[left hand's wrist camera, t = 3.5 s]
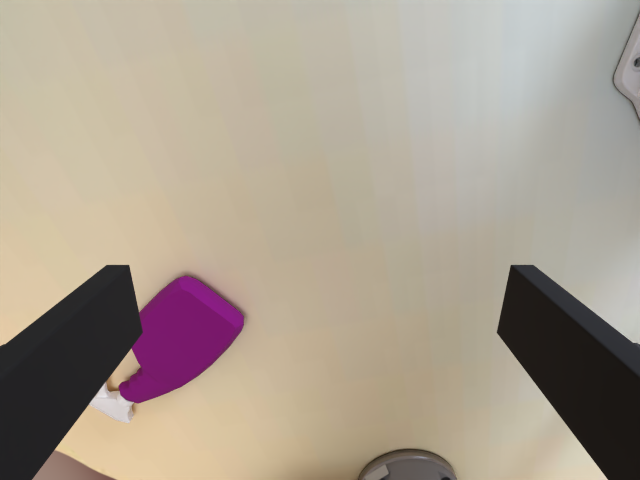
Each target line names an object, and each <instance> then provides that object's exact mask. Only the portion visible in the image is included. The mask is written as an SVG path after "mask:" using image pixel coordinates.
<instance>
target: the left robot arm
mask: <svg viewBox="0 0 640 480" xmlns="http://www.w3.org/2000/svg"><path fill="white" fill-rule="evenodd" d="M142 333H143V330H142V325H141V320H140V315H139V310H138V306H137V301H136V296H135V291H134V286H133V282H132V277H131V272H130V267H129V265H106V266H105V267H104V268H102V269H101V270H100V271H99V272H97V273H96V274H95V275H93V276H92V277H91V278H90V279H88V280H87V281H86V282H84V283H83V284H82V285H81V286H79V287H78V288H77V289H76V290H74V291H73V292H72V293H70V294H69V295H68V296H67V297H65V298H64V299H63V300H61V301H60V302H59V303H58V304H56V305H55V306H54V307H52V308H51V309H50V310H49V311H47V312H46V313H45V314H44V315H42V316H41V317H40V318H38V319H37V320H36V321H35V322H33V323H32V324H31V325H29V326H28V327H27V328H26V329H24V330H23V331H22V332H20V333H19V334H18V335H17V336H15V337H14V338H13V339H12V340H10V341H9V342H8V343H6V344H4V345H2V346H0V480H32V479H33V478H34V476H35V475H36V473H37V472H38V471H39V470H40V468H41V467H42V466H43V464H44V463H45V462H46V460H47V459H48V458H49V456H50V455H51V454H52V452H53V451H54V450H55V448H56V447H57V446H58V444H59V443H60V442H61V440H62V439H63V438H64V436H65V435H66V434H67V433H68V431H69V430H70V429H71V427H72V426H73V425H74V423H75V422H76V421H77V419H78V418H79V417H80V415H81V414H82V413H83V411H84V410H85V409H86V407H87V406H88V405H89V403H90V402H91V401H92V399H93V398H94V397H95V395H96V394H97V393H98V392H99V390H100V389H101V388H102V386H103V385H104V384H105V382H106V381H107V380H108V378H109V377H110V376H111V374H112V373H113V372H114V370H115V369H116V368H117V366H118V365H119V364H120V362H121V361H122V360H123V358H124V357H125V356H126V354H127V353H128V352H129V350H130V349H131V348H132V347H133V345H134V344H135V343H136V341H137V340H138V339H139V337H140V336H141V335H142ZM497 333H498V335H499V336H500V337H501V339H502V340H503V341H504V343H505V344H506V345H507V347H508V348H509V349H510V350H511V352H512V353H513V354H514V356H515V357H516V358H517V360H518V361H519V362H520V364H521V365H522V366H523V368H524V369H525V370H526V372H527V373H528V374H529V376H530V377H531V378H532V380H533V381H534V382H535V384H536V385H537V386H538V388H539V389H540V390H541V392H542V393H543V394H544V395H545V397H546V398H547V399H548V401H549V402H550V403H551V405H552V406H553V407H554V409H555V410H556V411H557V413H558V414H559V415H560V417H561V418H562V419H563V421H564V422H565V423H566V425H567V426H568V427H569V429H570V430H571V431H572V433H573V434H574V435H575V436H576V438H577V439H578V440H579V442H580V443H581V444H582V446H583V447H584V448H585V450H586V451H587V452H588V454H589V455H590V456H591V458H592V459H593V460H594V462H595V463H596V464H597V466H598V467H599V468H600V470H601V471H602V472H603V474H604V475H605V476H606V478H607V479H608V480H640V345H639V344H637V343H632V342H631V341H630V340H628V339H627V338H626V337H625V336H623V335H622V334H621V333H620V332H618V331H617V330H616V329H614V328H613V327H612V326H611V325H609V324H608V323H607V322H605V321H604V320H603V319H602V318H600V317H599V316H598V315H596V314H595V313H594V312H593V311H591V310H590V309H589V308H588V307H586V306H585V305H584V304H582V303H581V302H580V301H579V300H577V299H576V298H575V297H573V296H572V295H571V294H570V293H568V292H567V291H566V290H564V289H563V288H562V287H561V286H559V285H558V284H557V283H556V282H554V281H553V280H552V279H550V278H549V277H548V276H547V275H545V274H544V273H543V272H541V271H540V270H539V269H538V268H536V267H535V266H534V265H511V267H510V272H509V277H508V282H507V286H506V291H505V296H504V301H503V306H502V310H501V315H500V320H499V325H498V330H497ZM358 480H457V478H456V475H455V473H454V471H453V469H452V467H451V466H450V465H449V463H447V462H446V461H445V460H444V459H442V458H441V457H439V456H437V455H435V454H432V453H429V452H425V451H419V450H402V451H396V452H392V453H388V454H386V455H383V456H381V457H379V458H377V459H375V460H374V461H372V462H371V463H370V464H369V465H367V466H366V467H365V469H364V470H363V471H362V472H361V474H360V476H359V478H358Z"/></svg>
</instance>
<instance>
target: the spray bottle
mask: <svg viewBox="0 0 640 480" xmlns="http://www.w3.org/2000/svg"><path fill="white" fill-rule="evenodd" d="M139 315H140V320H141V325H142V330H143V333H142V335H141V336H140V337H139V339H138V340H137V341H136V343H135V344H134V345H133V347H132V350H133V352H134V354H135V357H136V359H137V361H138V363H139V364H140V366H141V368H139V370H138V371H137V373H136V374H134V375H132V376H131V377H130V380H129V381H125V382H122V383H121V384H120V385H119V391H111V392H109V391H108V390H107V383H106V382H105V384H104V385H103V386H102V388H101V389H100V390H99V392H98V393H97V394H96V395H95V397H94V398H93V399H92V401H91V402H90V403H89V405H91V406H92V407H94V408H96V409H97V410H99V411H101V412H103V413H104V414H106V415H108V416H110V417H111V418H113V419H115V420H118V421H122V422H126V423H130V421H131V419H132V418H133V416H134V414H133V412H132V405H133V403H134V402H135V403H141V402H144V401H147V400H150V399H153V398H156V397H158V396H161V395H163V394H166V393H168V392H170V391H173V390H175V389H177V388H180V387H182V386H183V385H185V384H186V383H188V382H189V381H191V380H193V379H194V378H196V377H197V376H199V375H200V374H201V373H202V372H204V371H205V370H206V369H207V368H208V367H210V366H211V365H212V364H213V363H214V362H215V361H216V360H217V359H218V358H219V357H220V356H221V355H222V354H223V353H224V352H225V351H226V350H227V349H228V348H229V346H230V345H231V344H232V342H233V341H234V340H235V339H236V337H237V336H238V335H239V333H240V332H241V330H242V328H243V325H244V316H243V315H242V314H241V313H240V312H239V311H238V310H237V309H235V308H234V307H233V306H231V305H230V304H229V303H228V302H226V301H225V300H224V299H222V298H221V297H220V296H219V295H217V294H216V293H215V292H213V291H212V290H211V289H210V288H208V287H207V286H205V285H204V284H203V283H201V282H200V281H198V280H197V279H195V278H191V277H188V276H184V277H180V278H178V279H175V280H174V281H173V282H171V283H170V284H169V285H168V286H166V287H165V288H164V289H162V290H161V291H160V292H159V293H158V294H157V295H156V296H155V297H154V298H153V299H152V300H151V301H150V302H149V303H148V304H147V305H146V306H145V307H144V308H143V309H142V310H141V311H140V312H139Z"/></svg>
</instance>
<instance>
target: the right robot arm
mask: <svg viewBox="0 0 640 480" xmlns="http://www.w3.org/2000/svg"><path fill="white" fill-rule="evenodd" d="M636 59H637V64H636V66H634V61H635V60H636ZM614 84H615V86H616V87H617V89H618V90H619V91H620V92H621V93H622V94H624V95H625V96H626V97H627V98H629V99H630V100H631V101H632V102H633V104H634V106H635V108H636V111H637V114H638V116H639V119H640V14H639V17H638V19H637V21H636V24H635V26H634V29H633V31H632V33H631V36H630V38H629V41H628V43H627V45H626V48H625V50H624V53H623V55H622V57H621V60H620V62H619V65H618V67H617V69H616V72H615V75H614Z"/></svg>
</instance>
